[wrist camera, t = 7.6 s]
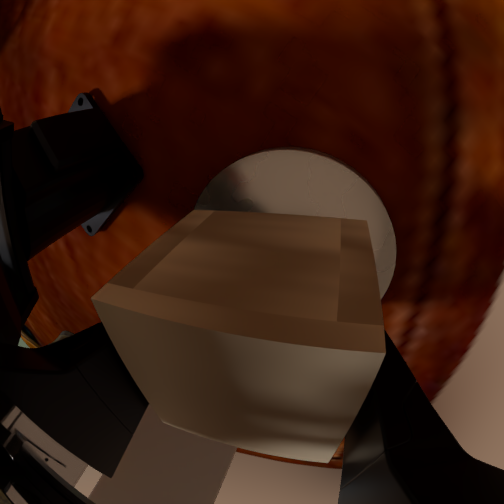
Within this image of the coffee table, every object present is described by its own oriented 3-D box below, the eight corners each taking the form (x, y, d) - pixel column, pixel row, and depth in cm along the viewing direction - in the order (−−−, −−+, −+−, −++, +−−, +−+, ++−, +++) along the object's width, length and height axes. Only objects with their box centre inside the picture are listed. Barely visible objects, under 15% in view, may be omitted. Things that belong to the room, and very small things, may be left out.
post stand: (268, 341, 16) (245, 404, 12) (166, 217, 13) (108, 262, 10) (419, 283, 11) (439, 357, 7) (321, 103, 9) (310, 97, 5)
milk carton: (257, 394, 19) (163, 601, 3) (242, 423, 23) (170, 580, 7) (173, 360, 20) (57, 545, 4) (175, 396, 24) (90, 541, 8)
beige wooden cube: (215, 330, 12) (162, 422, 8) (193, 209, 9) (90, 297, 5) (343, 349, 10) (327, 462, 6) (367, 220, 8) (386, 352, 3)
